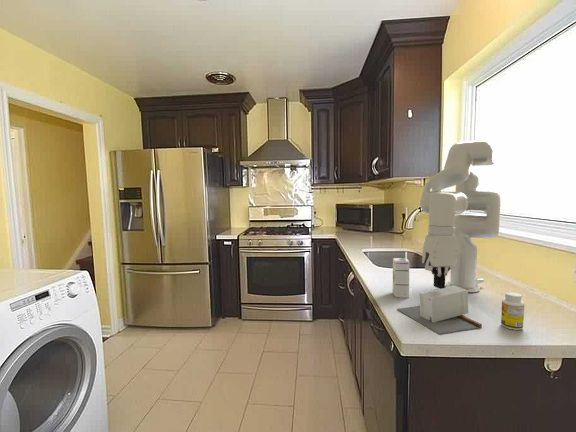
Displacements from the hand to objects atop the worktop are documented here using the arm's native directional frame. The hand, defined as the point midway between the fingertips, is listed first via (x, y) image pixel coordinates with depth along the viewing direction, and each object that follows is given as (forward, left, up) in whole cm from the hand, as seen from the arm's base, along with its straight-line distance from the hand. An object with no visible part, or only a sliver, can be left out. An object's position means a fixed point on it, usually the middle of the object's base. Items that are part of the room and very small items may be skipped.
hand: (439, 287), depth 102 cm
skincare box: (-9, 0, -5) cm, 11 cm away
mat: (+1, 0, -10) cm, 10 cm away
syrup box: (-3, -23, -11) cm, 25 cm away
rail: (-7, 0, -10) cm, 12 cm away
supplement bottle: (-17, +12, -11) cm, 23 cm away
